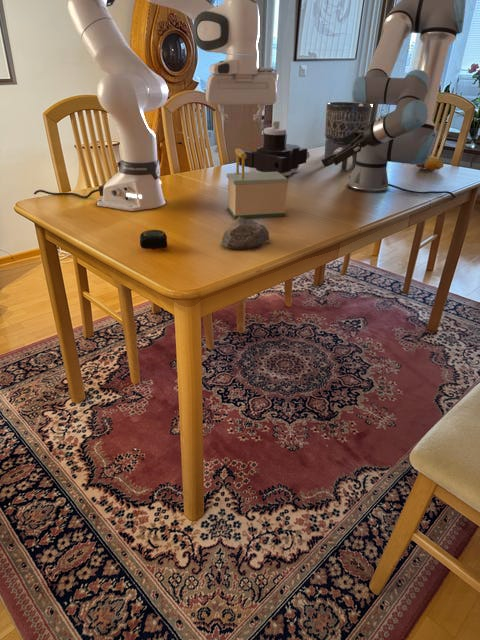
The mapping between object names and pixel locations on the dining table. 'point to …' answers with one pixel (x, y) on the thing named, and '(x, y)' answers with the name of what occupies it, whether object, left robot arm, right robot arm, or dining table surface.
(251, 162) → the mechanical component
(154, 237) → the tape measure
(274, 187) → the chest
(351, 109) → the planter
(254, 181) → the lid
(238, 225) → the rock
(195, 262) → the dining table surface
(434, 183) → the dining table surface
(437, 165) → the toy
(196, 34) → the left robot arm
